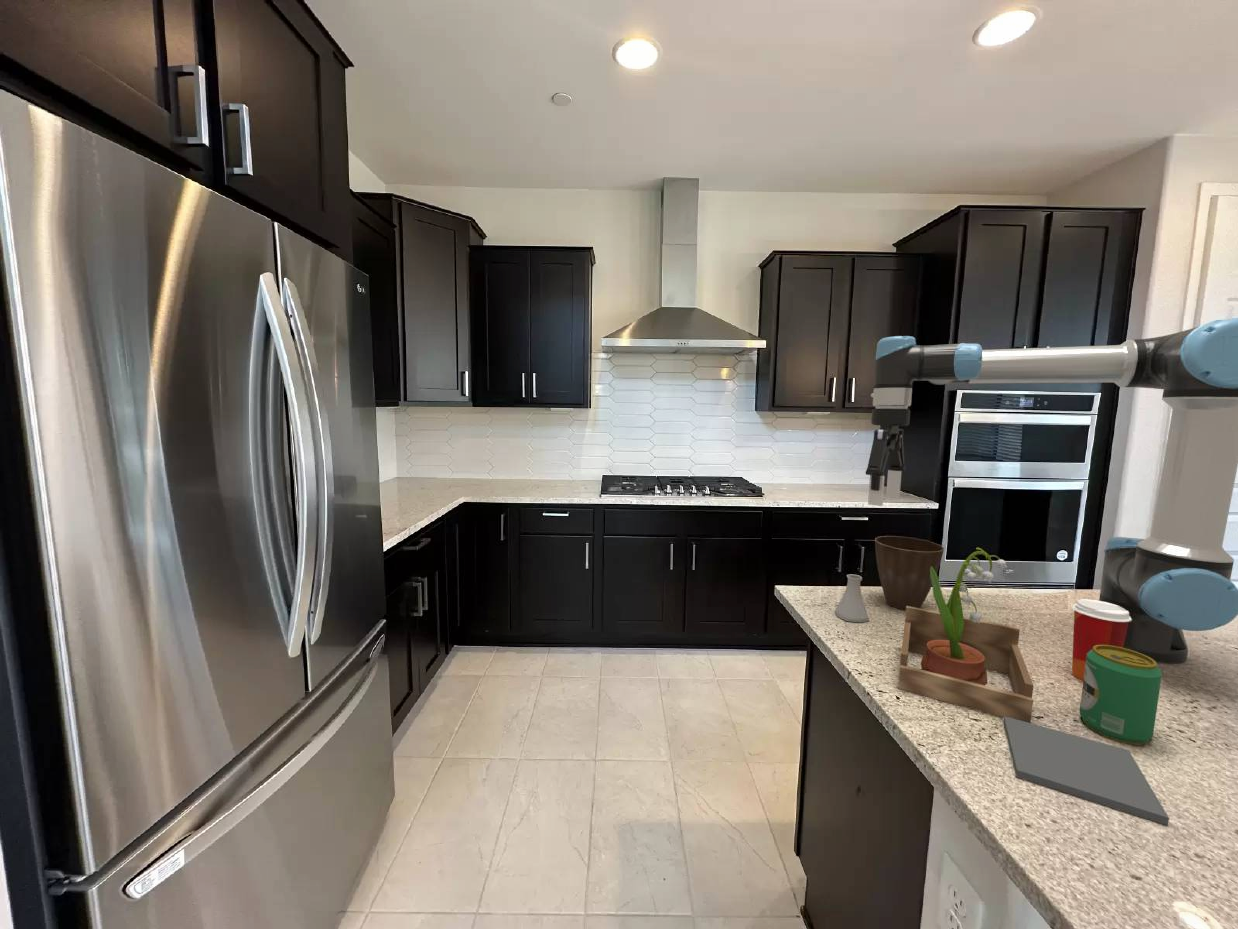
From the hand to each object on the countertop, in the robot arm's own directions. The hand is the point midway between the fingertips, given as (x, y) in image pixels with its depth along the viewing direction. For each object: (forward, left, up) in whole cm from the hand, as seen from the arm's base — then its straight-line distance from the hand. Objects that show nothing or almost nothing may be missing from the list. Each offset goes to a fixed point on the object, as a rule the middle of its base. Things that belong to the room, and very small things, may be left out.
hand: (884, 501), depth 112 cm
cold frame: (-15, +22, -28) cm, 39 cm away
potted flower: (-15, +22, -28) cm, 39 cm away
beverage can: (-35, +25, -28) cm, 51 cm away
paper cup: (-36, +7, -28) cm, 46 cm away
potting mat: (-28, +39, -28) cm, 56 cm away
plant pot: (-5, -14, -28) cm, 32 cm away
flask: (+5, +2, -28) cm, 29 cm away
